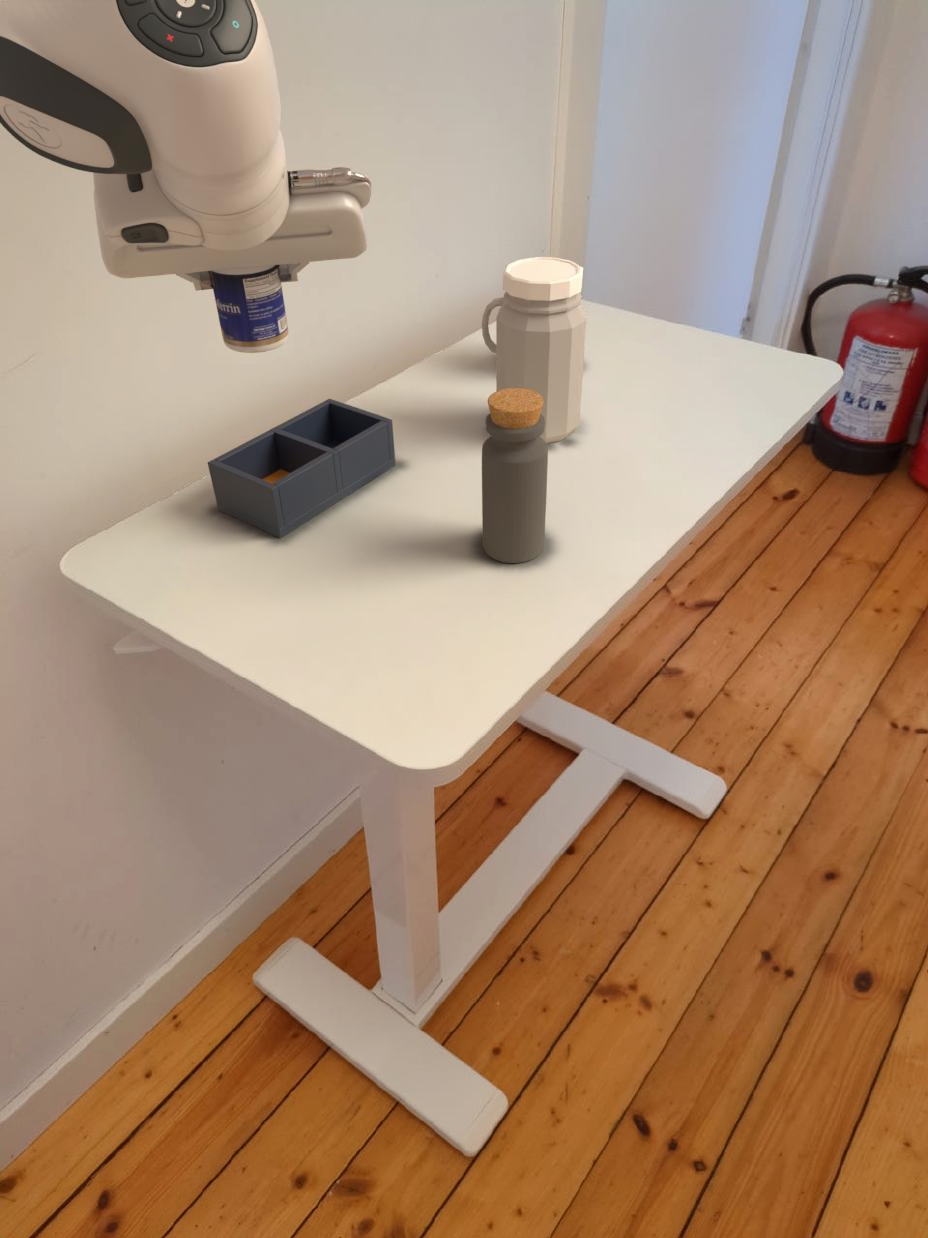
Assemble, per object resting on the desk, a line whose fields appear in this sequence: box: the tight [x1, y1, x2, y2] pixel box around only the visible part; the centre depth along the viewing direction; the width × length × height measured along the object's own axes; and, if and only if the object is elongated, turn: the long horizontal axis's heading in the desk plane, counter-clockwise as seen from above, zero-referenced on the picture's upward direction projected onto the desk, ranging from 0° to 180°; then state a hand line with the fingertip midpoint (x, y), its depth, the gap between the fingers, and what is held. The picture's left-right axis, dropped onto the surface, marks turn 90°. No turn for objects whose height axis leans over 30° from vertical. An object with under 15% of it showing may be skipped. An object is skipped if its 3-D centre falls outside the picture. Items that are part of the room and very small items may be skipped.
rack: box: [207, 398, 397, 539], centre depth 93 cm, size 17×9×6 cm, turn 143°
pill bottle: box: [210, 265, 289, 354], centre depth 76 cm, size 6×6×10 cm
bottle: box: [481, 388, 549, 564], centre depth 80 cm, size 6×6×15 cm
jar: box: [495, 256, 588, 444], centre depth 98 cm, size 10×10×18 cm
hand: (245, 277), depth 76 cm, fingers closed on pill bottle, 6 cm apart
